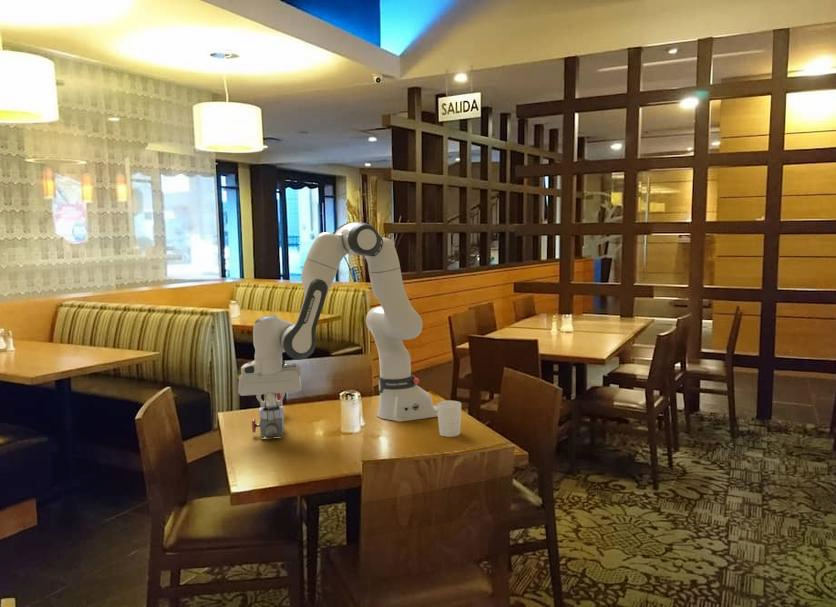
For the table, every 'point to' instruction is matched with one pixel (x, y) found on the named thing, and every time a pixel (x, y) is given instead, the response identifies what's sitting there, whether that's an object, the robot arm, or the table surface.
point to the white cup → (449, 418)
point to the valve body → (270, 422)
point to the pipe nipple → (271, 401)
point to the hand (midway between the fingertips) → (271, 406)
